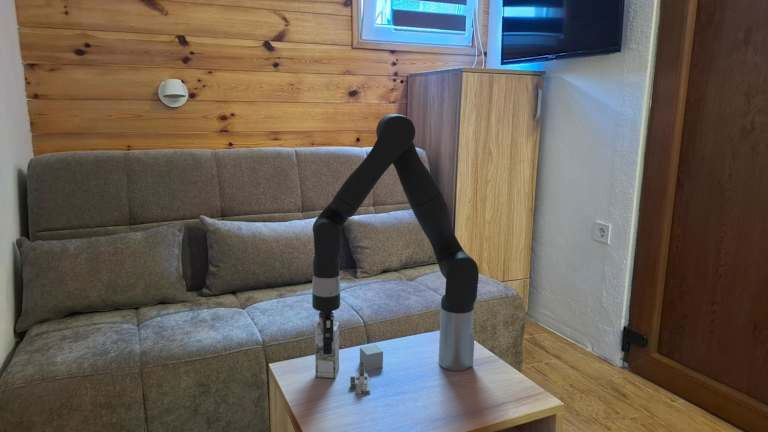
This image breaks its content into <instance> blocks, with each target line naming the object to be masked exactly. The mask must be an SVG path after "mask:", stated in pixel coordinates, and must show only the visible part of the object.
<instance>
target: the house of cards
mask: <svg viewBox="0 0 768 432" xmlns="http://www.w3.org/2000/svg"><path fill="white" fill-rule="evenodd" d="M358 370H359V373H356V375H355V376H350V378H349V379H350V380H349V384H350V389H355V395H357V394H358V395H359V394H360V395H362V394H371V388H370V387H371V384H370V376H368V373H366V372H365V371H366V369H365V361H360V360H359V366H358Z"/></svg>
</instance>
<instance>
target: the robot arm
mask: <svg viewBox="0 0 768 432" xmlns="http://www.w3.org/2000/svg"><path fill="white" fill-rule="evenodd" d="M375 131H376V132H375V134H376V138H377V139H376V141H375V143H374V145H373V146H372V148H371V149H370V151H369V153H368V154H367V155H366V157H365V158H364V159H363V160H362V162H361V163H360V164H359V165H358V166H357V167H356V168H355V169H354V170H353V171H352V172H351V174H350V175H348V177H347V178H346V179H345V181H344V182H343V183H342V185H341V187H339V189H338V190H337V192H336V194H335V195H334V197H333V198H332V200H331V202H329V204H327V206H326V207H324V209H323V210H322V211H321V212H320V213H319V215H318V216H317V217H316V219H315V221H314V222H313V224H312V235H313V247H314V248H313V251H314V255H313V260H312V283H311V285H312V287H311V290H312V291H311V292H312V293H311V295H312V296H311V298H312V299H311V305H312V309H314V310H315V311H317V312H318V323H319V322H320V326H321V333H322V334H323V338H322V340H323V353H324V354H331V353H332V342H333V331H334V324H333V322H335V315H334V311H337V310H338V309H340V307H341V277H340V276H341V275H340V271H341V270H340V268H341V267H340V265H341V263H340V254H341V253H340V251H341V241H342V239H341V238H342V237H341V236H342V235H341V234H342V233H341V229H342V227H343V226H344V225H345V224H346V222H347V221H348V219H349V218H352V217H353V216H354V215H355V214H356V213H357V212H358V210H359V209H360V208H361V205H362V204H364V202H365V200H366V199H367V197H368V196H369V195H370V193H371V191H372V190H373V189H374V187H375V186H376V184H377V183H378V182H379V181H380V179H381V177H382V176H383V175H384V174H385V172H386V171H387V170H388V169H389V168H390V167H391V165H393V167H394V169H395V171H396V173H397V176H398V179H399V182H400V184H401V187H402V190H403V192H404V194H405V196H406V199H407V201H408V204H409V206H410V208H411V210H412V213H413V215H414V216H415V219H416V221H417V222H418V224H419V226H420V228H421V229H422V231H423V233H424V234H425V236H426V238H427V239H428V241H429V243H430V245H431V247H432V249H433V254H434V256H435V259H436V262H437V265H438V267H439V271H440V273H441V275H442V276H443V277H444V278H445V292H444V294H443V295H442V297H441V299H440V320H439V321H440V322H439V323H440V325H439V342H438V343H439V347H438V364H439V366H440V367H441V368H444V369H446V370H449V371H458V372H459V371H465V370H468V369H469V368H474V356H475V355H474V354H475V353H474V352H475V338H476V337H475V335H474V334H473V326H474V310H475V309H474V308H475V306H474V305H475V303H476V301H477V296H478V289H479V275H480V273H479V266H478V263H477V262H476V261H475V260H474V258H472V257H471V256H470V255H469V254H467V252H466V251H465V250H464V249H463V247H462V246H461V245H462V244H460V242H459V240H458V238H457V236H456V234H455V232H454V230H453V226H452V220H451V214H450V210H449V206H448V203H447V201H446V199H445V197H444V195H443V192H442V191H441V188H440V186H439V184H438V183H437V181H436V179H435V178H434V177H433V175H432V174H431V172H430V171H429V169H428V168H427V167H426V165H425V164H424V162H423V161H422V159H421V158H420V155H419V152H418V151H417V149H416V145H415V144H414V139H416V138H415V137H416V128H415V125H414V122H413V121H412V120H411V119H410V118H409V117H408V116H405V115H403V114H396V113H393V114H387V115H384V116H383V117H382V118H380V119H379V121H378V122H377V125H376V130H375ZM328 333H330V337H326V334H328Z"/></svg>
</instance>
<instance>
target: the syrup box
mask: <svg viewBox="0 0 768 432" xmlns="http://www.w3.org/2000/svg"><path fill="white" fill-rule="evenodd" d="M333 324H334V331H333V342H332V353H331V354H324V353H323V340H322V338H323V334H322V333H321V326H320V322H319V321H318V322H317V324H316V326H315V329H314V333H315V336H314V337H315V338H314V339H315V340H314V341H315V342H314V347H315V349H314V351H315V352H314V353H315V354H314V355H315V357H314V358H315V378H318V379H319V378H320V379H321V378H322V379H323V378H324V379H333V380H335V379H336V378H337V376H338V373H339V370H340V322H339V321H334V322H333ZM326 337H330V333H328V334H326Z"/></svg>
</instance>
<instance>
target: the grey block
mask: <svg viewBox="0 0 768 432" xmlns="http://www.w3.org/2000/svg"><path fill="white" fill-rule="evenodd" d="M360 361H365V368H364V370H365V371H371V370H376V369H380V368H384V367H383V365H384V350H382V349H381V348H380V347H379V346H378V345H377V344H371V345H366V346H361V347H359V362H360Z"/></svg>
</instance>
